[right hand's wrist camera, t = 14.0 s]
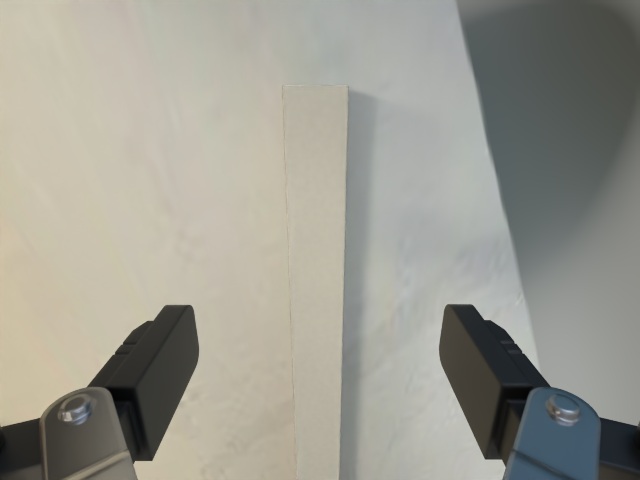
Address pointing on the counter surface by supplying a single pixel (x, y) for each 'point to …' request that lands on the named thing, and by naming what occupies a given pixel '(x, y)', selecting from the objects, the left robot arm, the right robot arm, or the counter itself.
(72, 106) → the counter surface
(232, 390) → the counter surface
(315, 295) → the beam
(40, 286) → the counter surface
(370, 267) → the counter surface
